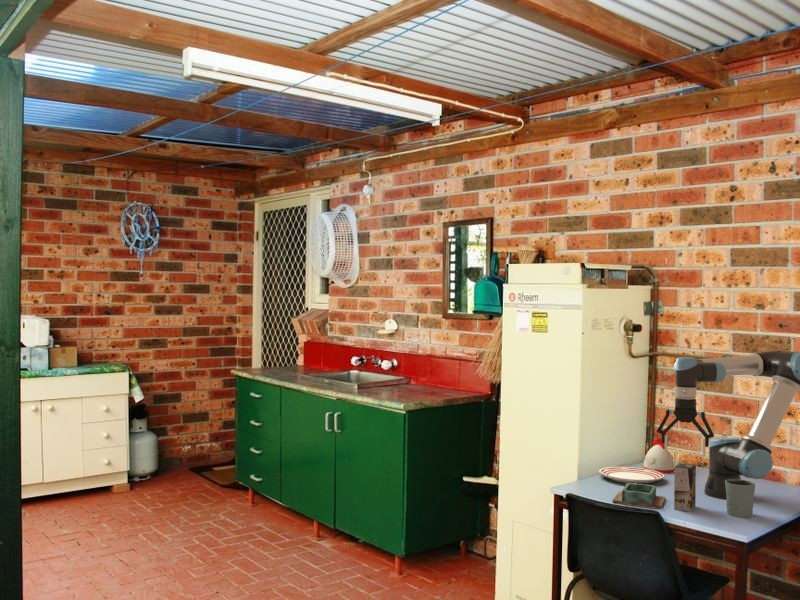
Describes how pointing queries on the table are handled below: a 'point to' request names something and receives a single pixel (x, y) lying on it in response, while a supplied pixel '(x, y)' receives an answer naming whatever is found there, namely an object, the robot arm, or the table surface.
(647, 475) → the dinner plate
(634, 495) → the holder tray
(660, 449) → the kitchen timer
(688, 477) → the coffee box
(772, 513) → the table surface
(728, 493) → the grey green cup
